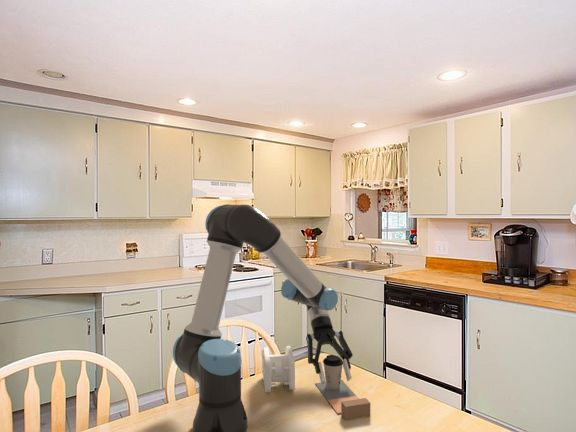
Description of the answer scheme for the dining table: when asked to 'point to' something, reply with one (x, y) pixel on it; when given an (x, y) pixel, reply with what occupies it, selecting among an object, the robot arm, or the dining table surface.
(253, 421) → the dining table surface
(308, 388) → the dining table surface
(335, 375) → the coffee cup
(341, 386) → the runner
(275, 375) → the cable organizer
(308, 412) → the dining table surface
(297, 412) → the dining table surface
